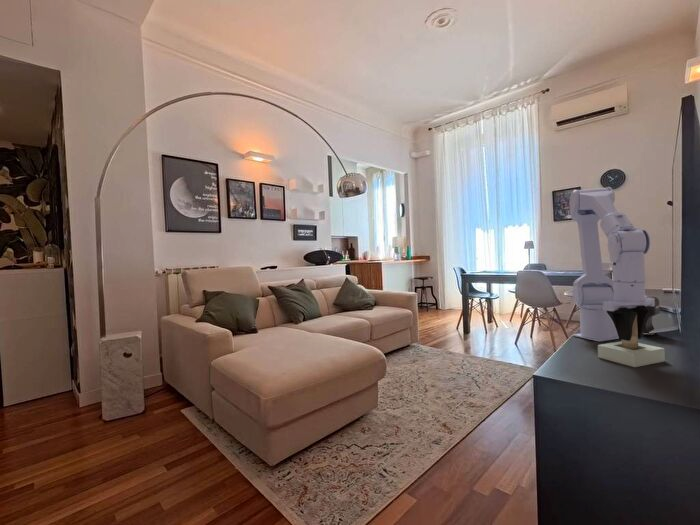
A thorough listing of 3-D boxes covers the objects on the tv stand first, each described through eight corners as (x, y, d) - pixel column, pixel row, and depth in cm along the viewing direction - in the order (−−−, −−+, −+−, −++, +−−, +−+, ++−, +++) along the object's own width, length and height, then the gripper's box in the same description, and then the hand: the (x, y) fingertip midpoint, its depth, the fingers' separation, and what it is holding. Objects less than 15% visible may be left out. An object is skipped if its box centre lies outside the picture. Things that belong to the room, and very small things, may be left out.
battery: (655, 337, 97) (654, 298, 97) (638, 335, 100) (637, 297, 100) (661, 333, 101) (660, 295, 101) (645, 331, 104) (644, 295, 104)
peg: (627, 349, 81) (626, 312, 81) (641, 352, 78) (640, 314, 78) (618, 351, 80) (617, 313, 80) (632, 354, 77) (631, 315, 77)
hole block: (626, 352, 85) (626, 340, 84) (664, 361, 77) (664, 348, 77) (598, 357, 82) (597, 345, 81) (634, 367, 74) (634, 353, 74)
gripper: (625, 284, 73) (627, 346, 73) (669, 280, 77) (670, 339, 78) (593, 282, 80) (594, 339, 80) (635, 279, 84) (636, 332, 84)
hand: (630, 338), depth 79 cm, fingers closed on peg, 3 cm apart
